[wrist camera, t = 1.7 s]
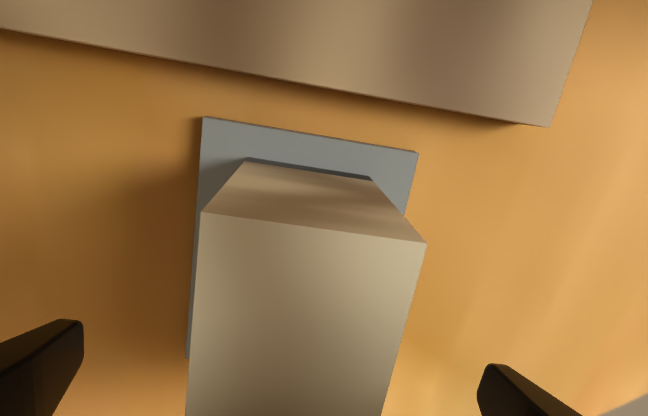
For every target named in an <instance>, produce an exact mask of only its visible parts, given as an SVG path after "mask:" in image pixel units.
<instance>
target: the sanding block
mask: <svg viewBox="0 0 648 416" xmlns="http://www.w3.org/2000/svg"><path fill="white" fill-rule="evenodd" d="M426 247H427V242H426V241H425V240H424V239H423V238H422V237H421V235H420V234H419V233H418V232H417V231H416V230H415V229H414V227H413V226H412V225H411V224H410V223H409V222H408V220H407V219H406V218H405V217H404V216H403V215H402V214H401V212H400V211H399V210H398V209H397V208H396V207H395V205H394V204H393V203H392V202H391V201H390V200H389V199H388V197H387V196H386V195H385V194H384V193H383V192H382V190H381V189H380V188H379V187H378V186H377V185H376V184H375V182H374V181H373V180H372V179H371V178H370V177H369V176H366V175H360V174H353V173H347V172H341V171H334V170H328V169H322V168H315V167H309V166H303V165H296V164H290V163H284V162H277V161H271V160H265V159H258V158H252V157H248V158H247V159H246V160H245V161H244V162H243V164H242V165H241V166H240V167H239V168H238V169H237V170H236V172H235V173H234V174H233V175H232V176H231V177H230V179H229V180H228V181H227V182H226V183H225V184H224V186H223V187H222V188H221V189H220V190H219V191H218V193H217V194H216V195H215V196H214V197H213V198H212V200H211V201H210V202H209V203H208V204H207V205H206V206H205V208H204V209H203V210H202V211H201V216H200V229H199V242H198V255H197V268H196V280H195V293H194V306H193V319H192V332H191V345H190V357H189V370H188V383H187V396H186V409H185V416H381V412H382V409H383V405H384V401H385V398H386V394H387V390H388V387H389V383H390V379H391V376H392V372H393V368H394V365H395V361H396V357H397V354H398V350H399V346H400V343H401V339H402V335H403V332H404V328H405V324H406V321H407V317H408V313H409V310H410V306H411V302H412V299H413V295H414V291H415V288H416V284H417V280H418V277H419V273H420V269H421V265H422V262H423V258H424V254H425V251H426Z"/></svg>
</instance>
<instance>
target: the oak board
mask: <svg viewBox="0 0 648 416" xmlns="http://www.w3.org/2000/svg"><path fill="white" fill-rule="evenodd" d="M592 3H593V0H0V29H3V30H8V31H14V32H19V33H25V34H30V35H36V36H41V37H47V38H52V39H58V40H63V41H69V42H74V43H80V44H85V45H90V46H96V47H101V48H107V49H112V50H118V51H123V52H129V53H134V54H140V55H145V56H151V57H156V58H162V59H167V60H172V61H178V62H183V63H189V64H194V65H200V66H205V67H211V68H216V69H222V70H227V71H233V72H238V73H244V74H249V75H254V76H260V77H265V78H271V79H276V80H282V81H287V82H293V83H298V84H304V85H309V86H315V87H320V88H325V89H331V90H336V91H342V92H347V93H353V94H358V95H364V96H369V97H375V98H380V99H386V100H391V101H397V102H402V103H407V104H413V105H418V106H424V107H429V108H435V109H440V110H446V111H451V112H457V113H462V114H468V115H473V116H479V117H484V118H489V119H495V120H500V121H506V122H511V123H517V124H523V125H531V126H539V127H547V128H550V126H551V123H552V120H553V117H554V114H555V111H556V108H557V105H558V102H559V99H560V97H561V94H562V91H563V88H564V85H565V82H566V79H567V76H568V73H569V70H570V67H571V64H572V62H573V59H574V56H575V53H576V50H577V47H578V44H579V41H580V38H581V35H582V32H583V29H584V26H585V24H586V21H587V18H588V15H589V12H590V9H591V6H592Z"/></svg>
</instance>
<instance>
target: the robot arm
mask: <svg viewBox="0 0 648 416" xmlns="http://www.w3.org/2000/svg"><path fill="white" fill-rule="evenodd" d="M83 357H84V330H83V324H82V322H80V321H79V320H70V319H58V320H55V321H53V322H50V323H48V324H45V325H43V326H40V327H38V328H36V329H33V330H31V331H28V332H26V333H23V334H21V335H19V336H16V337H14V338H11V339H9V340H6V341H4V342H2V343H0V416H52V415H53V413H54V411H55V410H56V408H57V406H58V404H59V403H60V401H61V399H62V397H63V396H64V394H65V392H66V390H67V389H68V387H69V385H70V383H71V382H72V380H73V378H74V376H75V375H76V373H77V371H78V369H79V368H80V366H81V363H82V361H83ZM477 402H478V405H479V408H480V411H481V414H482V416H582V415H581V414H579V413H578V412H576V411H575V410H573V409H572V408H570V407H569V406H567V405H566V404H564V403H563V402H561V401H560V400H558V399H557V398H555V397H554V396H552V395H551V394H549V393H548V392H546V391H545V390H543V389H542V388H540V387H539V386H537V385H536V384H534V383H533V382H531V381H530V380H528V379H527V378H525V377H524V376H522V375H521V374H519V373H518V372H516V371H515V370H513V369H512V368H510V367H509V366H507V365H503V364H494V363H491V364H488V365H487V366H486V368H485V370H484V373H483V376H482V379H481V381H480V384H479V387H478V390H477Z"/></svg>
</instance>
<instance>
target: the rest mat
mask: <svg viewBox="0 0 648 416" xmlns="http://www.w3.org/2000/svg"><path fill="white" fill-rule="evenodd" d="M418 156H419V153H417V152H415V151H411V150H405V149H399V148H393V147H387V146H381V145H375V144H369V143H363V142H357V141H352V140H346V139H340V138H334V137H328V136H322V135H316V134H310V133H304V132H298V131H292V130H286V129H280V128H274V127H268V126H262V125H256V124H250V123H245V122H239V121H233V120H227V119H221V118H215V117H209V116H207V117H203V123H202V136H201V150H200V163H199V177H198V190H197V204H196V218H195V231H194V245H193V258H192V272H191V285H190V299H189V312H188V326H187V339H186V353H185V358H186V359H189V357H190V345H191V332H192V319H193V306H194V293H195V280H196V268H197V255H198V242H199V229H200V216H201V211H202V210H203V209H204V208H205V206H206V205H207V204H208V203H209V202H210V201H211V200H212V198H213V197H214V196H215V195H216V194H217V193H218V191H219V190H220V189H221V188H222V187H223V186H224V184H225V183H226V182H227V181H228V180H229V179H230V177H231V176H232V175H233V174H234V173H235V172H236V170H237V169H238V168H239V167H240V166H241V165H242V164H243V162H244V161H245V160H246V159H247V158H248V157H252V158H258V159H265V160H271V161H277V162H284V163H290V164H296V165H303V166H309V167H315V168H322V169H328V170H334V171H341V172H347V173H353V174H360V175H366V176H369V177H370V178H371V179H372V180H373V181H374V182H375V184H376V185H377V186H378V187H379V188H380V189H381V190H382V192H383V193H384V194H385V195H386V196H387V197H388V199H389V200H390V201H391V202H392V203H393V204H394V205H395V207H396V208H397V209H398V210H399V211H400V212H401V214H402V215H403V216H404V213H405V209H406V205H407V201H408V197H409V193H410V189H411V185H412V181H413V177H414V173H415V168H416V164H417V160H418Z"/></svg>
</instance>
